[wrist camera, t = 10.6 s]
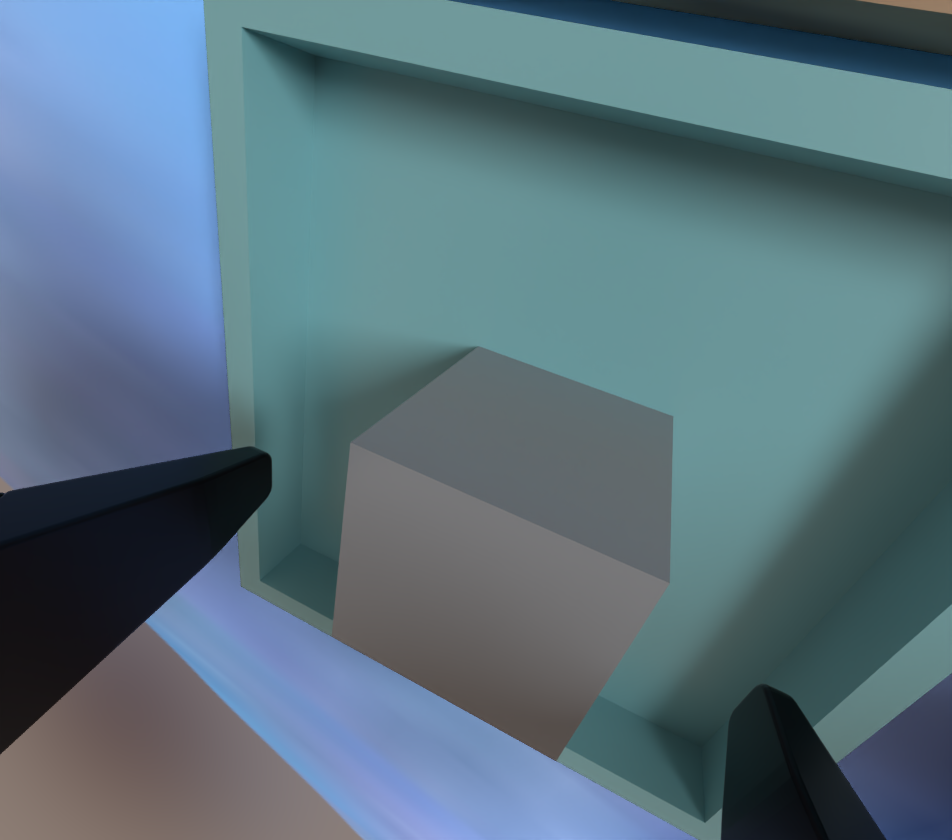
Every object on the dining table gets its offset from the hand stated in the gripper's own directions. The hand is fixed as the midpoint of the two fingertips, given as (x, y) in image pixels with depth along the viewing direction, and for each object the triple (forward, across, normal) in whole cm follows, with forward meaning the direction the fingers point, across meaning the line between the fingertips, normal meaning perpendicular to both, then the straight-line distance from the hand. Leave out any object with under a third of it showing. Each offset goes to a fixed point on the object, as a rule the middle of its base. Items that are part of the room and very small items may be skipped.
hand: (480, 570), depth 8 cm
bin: (+5, 0, 0) cm, 5 cm away
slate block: (+4, 0, 0) cm, 4 cm away
